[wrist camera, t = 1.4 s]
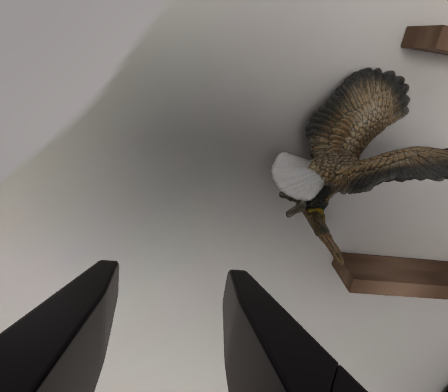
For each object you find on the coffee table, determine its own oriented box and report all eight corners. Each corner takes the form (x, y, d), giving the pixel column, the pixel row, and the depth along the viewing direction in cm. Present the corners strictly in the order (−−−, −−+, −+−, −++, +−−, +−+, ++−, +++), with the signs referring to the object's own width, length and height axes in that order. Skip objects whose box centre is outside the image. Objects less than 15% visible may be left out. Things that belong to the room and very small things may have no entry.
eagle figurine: (349, 248, 23) (484, 154, 19) (329, 286, 17) (525, 158, 13) (274, 158, 25) (386, 54, 21) (229, 162, 18) (380, 14, 15)
